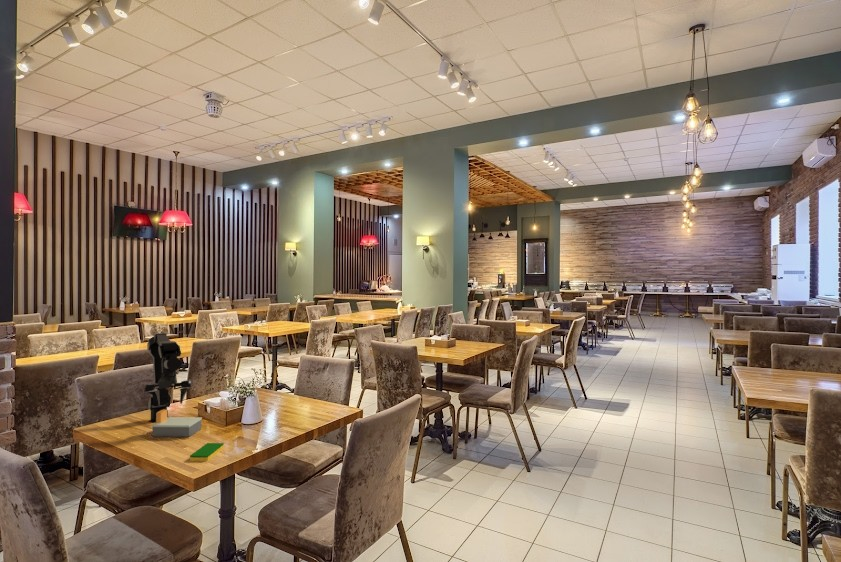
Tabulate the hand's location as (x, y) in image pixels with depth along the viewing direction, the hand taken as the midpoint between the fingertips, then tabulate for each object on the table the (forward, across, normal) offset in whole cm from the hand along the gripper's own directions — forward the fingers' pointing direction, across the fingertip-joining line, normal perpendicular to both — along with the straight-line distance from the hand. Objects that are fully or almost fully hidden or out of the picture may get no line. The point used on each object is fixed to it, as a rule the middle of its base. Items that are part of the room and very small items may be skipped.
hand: (169, 405), depth 203 cm
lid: (+9, +3, 0) cm, 10 cm away
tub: (+13, +3, +1) cm, 13 cm away
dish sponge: (+18, +21, -28) cm, 40 cm away
